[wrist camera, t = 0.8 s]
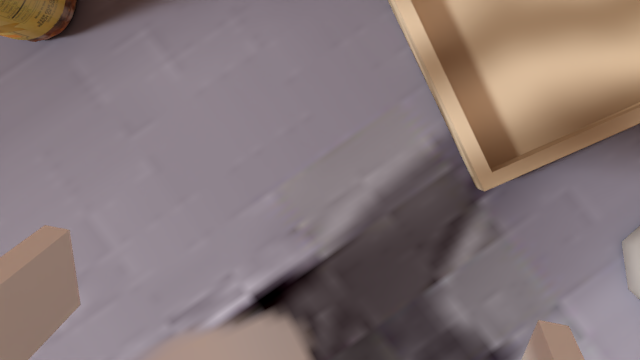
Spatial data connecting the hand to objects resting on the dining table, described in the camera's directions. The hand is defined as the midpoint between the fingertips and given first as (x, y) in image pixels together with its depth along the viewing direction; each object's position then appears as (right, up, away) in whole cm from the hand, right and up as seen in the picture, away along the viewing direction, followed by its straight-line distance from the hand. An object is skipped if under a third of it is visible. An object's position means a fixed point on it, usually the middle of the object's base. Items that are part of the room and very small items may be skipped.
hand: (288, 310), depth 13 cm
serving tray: (+14, +12, +14) cm, 24 cm away
